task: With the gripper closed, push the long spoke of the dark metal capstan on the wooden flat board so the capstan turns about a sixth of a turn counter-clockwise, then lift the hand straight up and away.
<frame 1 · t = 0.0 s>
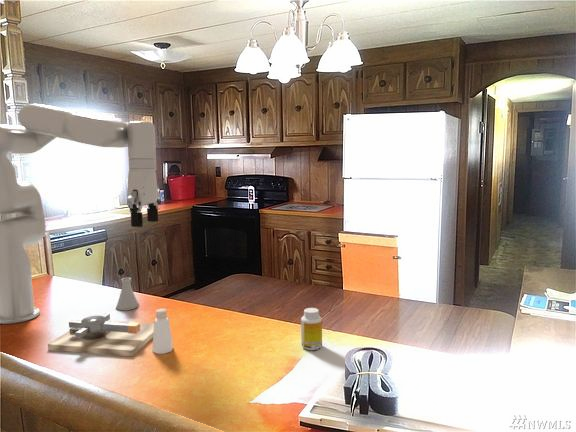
hand: (145, 223, 130), 31 cm above the worktop, tool pointing down, fingers open, 9 cm apart
wooden flat board: (108, 338, 125), on the worktop
capstan: (104, 327, 123), point 4 cm above the worktop, hinge at 0.0°
pepper shaker: (162, 350, 118), on the worktop
supplement bottle: (311, 347, 120), on the worktop
flask: (127, 308, 151), on the worktop
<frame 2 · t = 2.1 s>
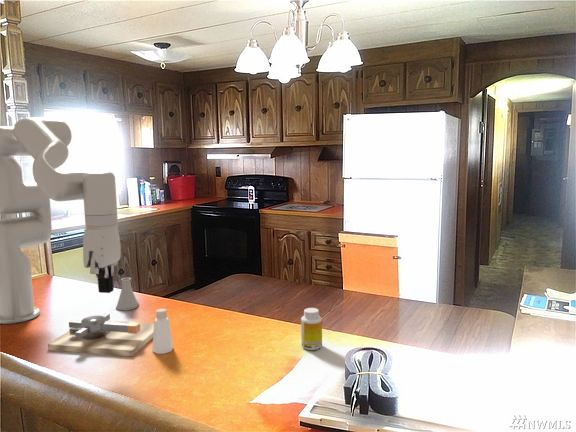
hand: (106, 291, 114), 17 cm above the worktop, tool pointing down, fingers closed
nothing on the worktop moved.
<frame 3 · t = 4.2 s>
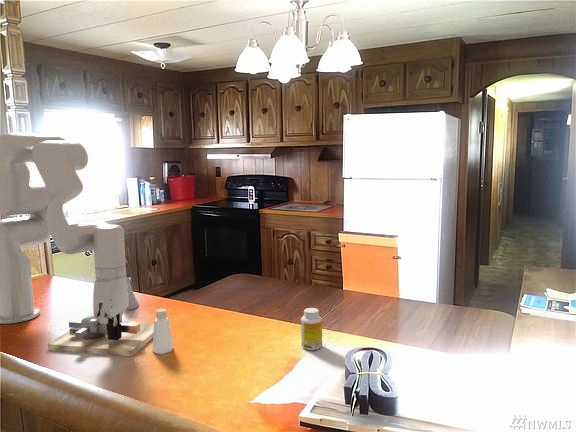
hand: (114, 338, 119), 3 cm above the worktop, tool pointing down, fingers closed
capstan: (104, 327, 123), point 4 cm above the worktop, hinge at 0.1°, touching gripper
everything else where it was.
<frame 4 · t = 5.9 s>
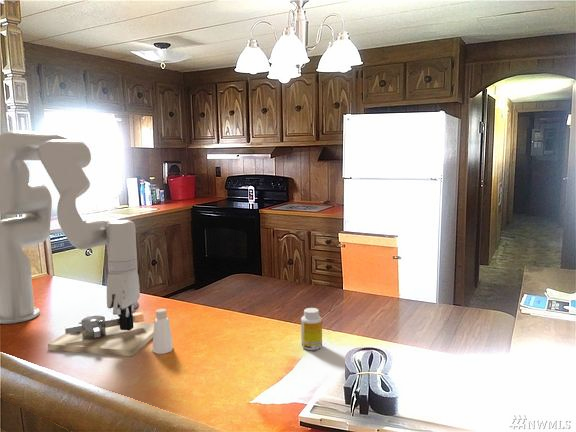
hand: (126, 328, 125), 3 cm above the worktop, tool pointing down, fingers closed
capstan: (105, 324, 125), point 4 cm above the worktop, hinge at 39.9°, touching gripper
everything else where it was.
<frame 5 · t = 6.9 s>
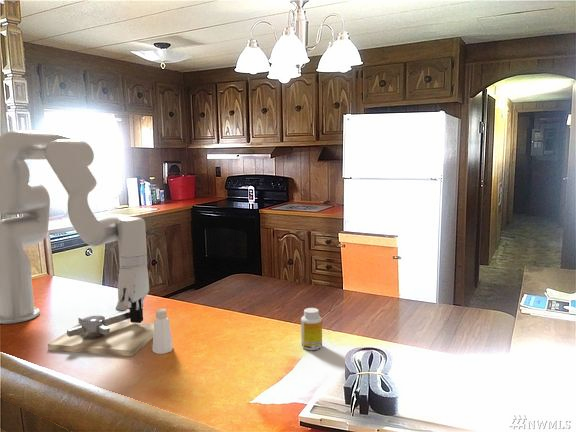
hand: (136, 321, 130), 3 cm above the worktop, tool pointing down, fingers closed
capstan: (104, 323, 126), point 4 cm above the worktop, hinge at 61.2°, touching gripper
everything else where it was.
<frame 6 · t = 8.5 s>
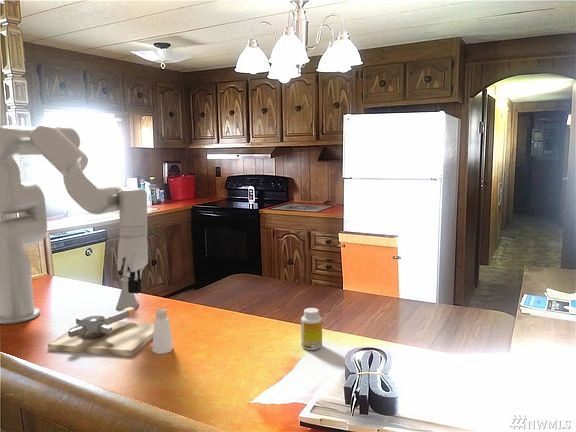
hand: (134, 292, 131), 11 cm above the worktop, tool pointing down, fingers closed
capstan: (103, 323, 126), point 4 cm above the worktop, hinge at 67.5°
everything else where it was.
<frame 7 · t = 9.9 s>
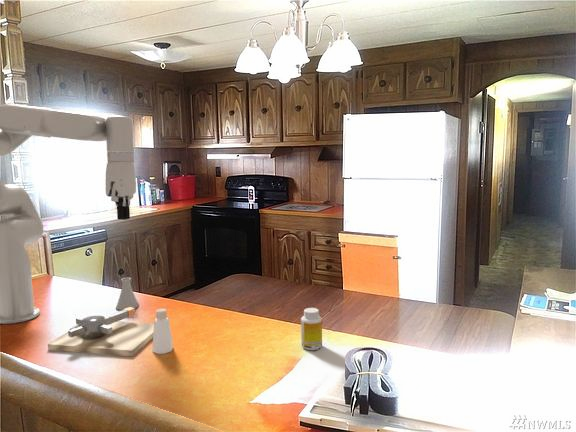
hand: (123, 218, 135), 32 cm above the worktop, tool pointing down, fingers closed
nothing on the worktop moved.
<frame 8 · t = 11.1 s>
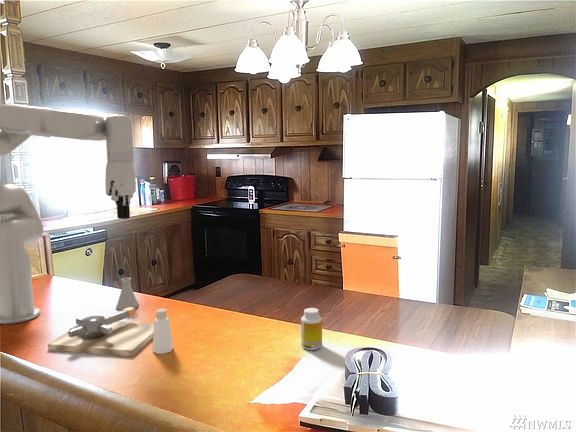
hand: (123, 218, 136), 32 cm above the worktop, tool pointing down, fingers closed
nothing on the worktop moved.
at the end: capstan at +68° (first picture: +0°); capstan touching nothing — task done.
